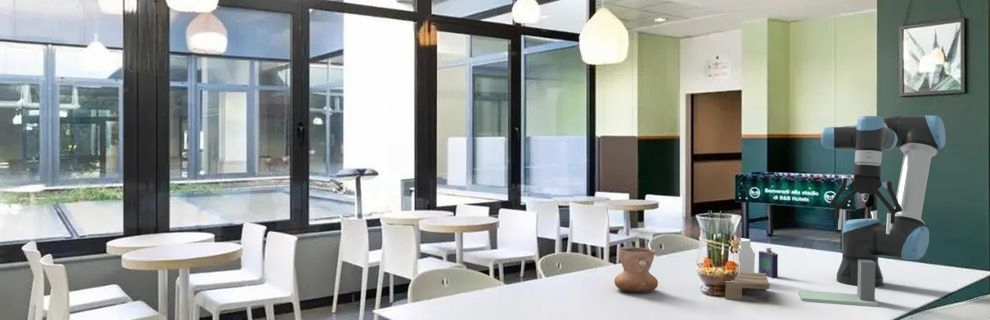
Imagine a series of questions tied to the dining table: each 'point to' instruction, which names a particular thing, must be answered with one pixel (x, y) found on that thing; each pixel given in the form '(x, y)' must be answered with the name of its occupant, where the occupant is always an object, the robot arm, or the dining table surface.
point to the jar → (746, 256)
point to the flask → (768, 263)
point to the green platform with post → (862, 297)
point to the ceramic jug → (636, 270)
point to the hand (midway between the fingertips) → (863, 231)
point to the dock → (747, 286)
